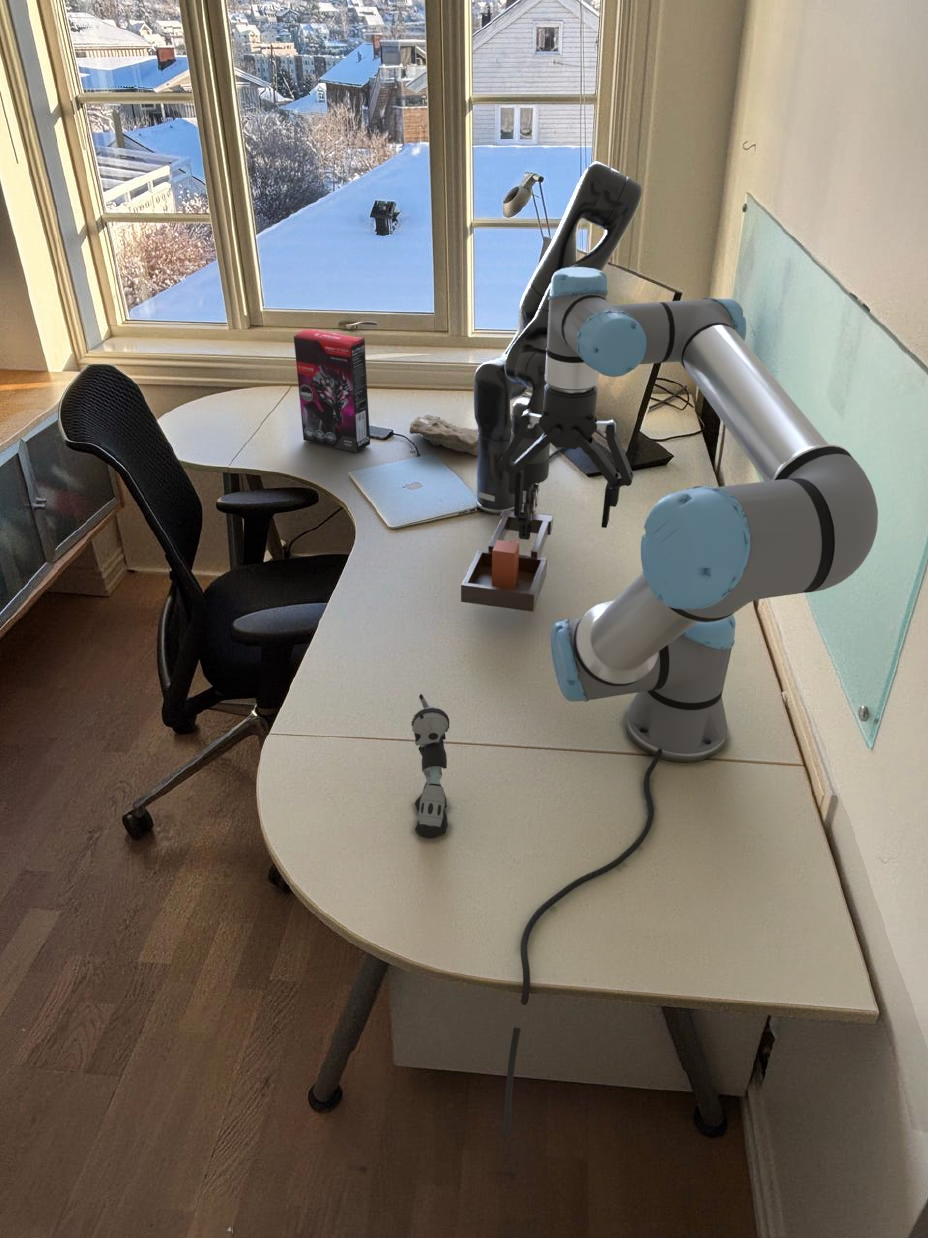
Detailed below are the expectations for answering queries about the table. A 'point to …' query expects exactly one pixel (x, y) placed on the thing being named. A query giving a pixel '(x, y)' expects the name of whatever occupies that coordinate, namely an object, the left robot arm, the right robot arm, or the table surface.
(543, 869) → the table surface
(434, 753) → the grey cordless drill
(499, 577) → the terracotta block
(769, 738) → the table surface
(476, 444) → the stone
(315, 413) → the graphics card box
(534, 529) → the walnut tray
